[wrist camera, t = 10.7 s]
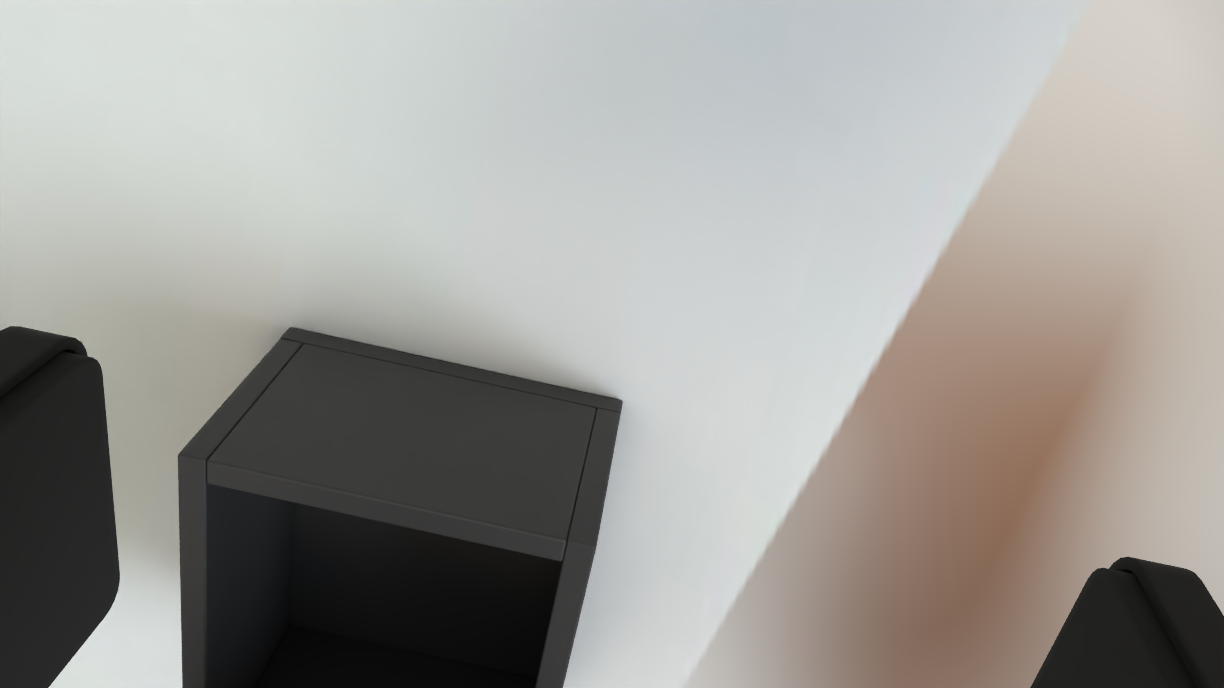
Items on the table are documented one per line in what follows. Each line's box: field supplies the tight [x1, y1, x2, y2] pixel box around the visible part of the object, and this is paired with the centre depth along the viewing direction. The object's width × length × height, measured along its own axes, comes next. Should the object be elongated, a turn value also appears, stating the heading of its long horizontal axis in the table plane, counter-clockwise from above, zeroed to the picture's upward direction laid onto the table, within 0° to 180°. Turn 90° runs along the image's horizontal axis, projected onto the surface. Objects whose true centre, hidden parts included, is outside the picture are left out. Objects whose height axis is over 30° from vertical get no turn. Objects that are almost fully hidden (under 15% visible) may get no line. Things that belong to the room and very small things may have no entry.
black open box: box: [178, 328, 623, 688], centre depth 33 cm, size 14×12×8 cm
